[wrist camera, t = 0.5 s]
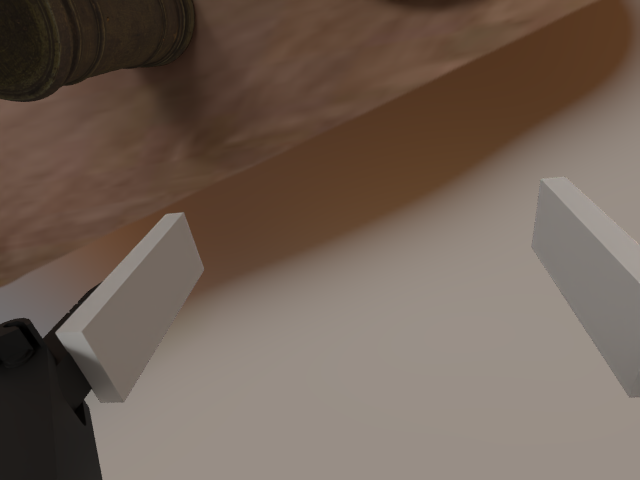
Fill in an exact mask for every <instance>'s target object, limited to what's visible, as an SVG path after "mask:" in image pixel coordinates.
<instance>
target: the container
mask: <svg viewBox="0 0 640 480" xmlns="http://www.w3.org/2000/svg"><path fill="white" fill-rule="evenodd" d="M193 29H194V8H193V4H192V0H0V99H5V100H10V101H19V102H30V101H36V100H40V99H43V98H46V97H48V96H50V95H52V94H53V93H54V92H56V91H57V90H58V89H59V88H60V87H62V86H67V85H73V84H77V83H79V82H81V81H83V80H85V79H86V78H89V77H93V76H97V75H100V74H104V73H107V72H111V71H115V70H119V69H122V68H123V69H131V68H137V67H153V66H161V65H165V64H168V63H170V62H172V61H174V60H175V59H177V58H178V57H179V56H180V55H181V54H182V53H183V52H184V50H185V49H186V48H187V46H188V44H189V42H190V39H191V37H192V33H193Z"/></svg>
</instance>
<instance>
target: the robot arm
mask: <svg viewBox="0 0 640 480" xmlns="http://www.w3.org/2000/svg"><path fill="white" fill-rule="evenodd" d="M532 248H533V250H534V252H535V253H536V255H537V256H538V258H539V259H540V261H541V262H542V264H543V265H544V267H545V268H546V270H547V271H548V273H549V275H550V276H551V278H552V279H553V281H554V282H555V284H556V285H557V287H558V288H559V290H560V292H561V293H562V295H563V296H564V298H565V299H566V301H567V302H568V304H569V305H570V307H571V308H572V310H573V311H574V313H575V315H576V316H577V318H578V319H579V321H580V322H581V324H582V325H583V327H584V328H585V330H586V332H587V333H588V335H589V336H590V337H591V339H592V341H593V342H594V344H595V345H596V347H597V348H598V350H599V352H600V353H601V355H602V356H603V358H604V359H605V361H606V362H607V364H608V365H609V367H610V368H611V370H612V372H613V373H614V374H615V376H616V378H617V379H618V381H619V382H620V384H621V385H622V387H623V388H624V390H625V391H626V393H627V395H628V396H629V397H640V245H639V244H638V243H637V242H636V241H635V240H634V239H633V238H632V237H631V236H630V235H628V234H627V233H626V232H625V231H624V230H623V229H622V228H621V227H620V226H619V225H618V224H616V223H615V222H614V221H613V220H612V219H611V218H610V217H609V216H608V215H607V214H606V213H604V212H603V211H602V210H601V209H600V208H599V207H598V206H597V205H596V204H595V203H594V202H592V201H591V200H590V199H589V198H588V197H587V196H586V195H585V194H584V193H583V192H581V191H580V190H579V189H578V188H577V187H576V186H575V185H574V184H572V182H571V181H570V180H568V179H567V178H566V177H556V178H544V179H541V181H540V189H539V196H538V203H537V211H536V218H535V226H534V233H533V240H532ZM203 270H204V267H203V265H202V262H201V259H200V256H199V253H198V251H197V248H196V245H195V242H194V239H193V237H192V234H191V231H190V228H189V226H188V223H187V220H186V217H185V214H184V212H182V213H171V214H165V216H164V217H163V218H162V219H161V220H160V221H159V222H158V223H157V224H156V225H155V226H154V227H153V229H152V230H151V231H150V232H149V233H148V234H147V235H146V236H145V237H144V238H143V239H142V240H141V241H140V243H138V245H137V246H136V247H135V248H134V249H133V250H132V251H131V252H130V253H129V254H128V255H127V257H125V258H124V259H123V261H122V262H121V263H120V264H119V265H118V266H117V267H116V268H115V269H114V270H113V271H112V272H111V273H110V275H109V276H108V277H107V278H106V279H105V280H104V281H103V282H101V283H100V284H98V285H97V286H95V287H94V288H92V289H91V290H89V291H88V292H87V293H86V294H85V295H84V296H83V297H82V298H81V299H80V300H79V301H78V304H75V305H74V306H73V308H72V309H71V310H70V313H67V314H66V315H65V316H64V317H63V318H62V319H61V320H60V321H59V322H58V323H57V324H56V325H55V326H54V327H53V329H52V330H51V331H50V332H49V333H48V334H47V335H46V336H45V337H44V338H43V339H42V337H41V336H40V334H39V333H38V331H37V330H36V329H35V327H34V325H33V324H32V322H31V321H30V320H29V319H26V318H19V319H13V320H10V321H7V322H4V323H2V324H0V480H102V475H101V469H100V464H99V459H98V453H97V448H96V443H95V437H94V431H93V426H92V421H91V415H90V411H89V407H88V405H87V404H86V402H85V401H84V398H85V397H86V396H87V394H88V393H89V392H90V390H91V389H92V390H93V392H94V393H95V395H96V397H97V398H98V400H99V401H100V402H101V403H103V402H104V403H105V402H124V401H125V400H126V398H127V396H128V395H129V393H130V391H131V390H132V388H133V387H134V385H135V383H136V381H137V380H138V378H139V377H140V375H141V373H142V372H143V370H144V368H145V367H146V365H147V363H148V362H149V360H150V358H151V357H152V355H153V353H154V352H155V350H156V349H157V347H158V345H159V343H160V342H161V340H162V339H163V337H164V335H165V334H166V332H167V330H168V329H169V327H170V325H171V324H172V322H173V320H174V319H175V317H176V315H177V314H178V312H179V310H180V309H181V307H182V305H183V304H184V302H185V300H186V299H187V297H188V296H189V294H190V292H191V291H192V289H193V287H194V285H195V284H196V282H197V281H198V279H199V277H200V276H201V274H202V272H203Z"/></svg>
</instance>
